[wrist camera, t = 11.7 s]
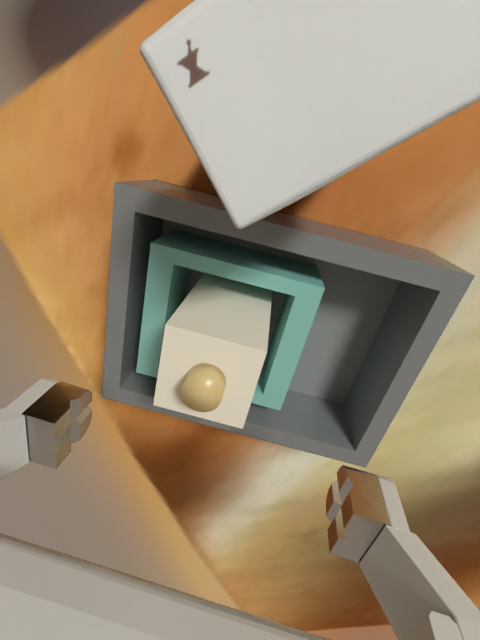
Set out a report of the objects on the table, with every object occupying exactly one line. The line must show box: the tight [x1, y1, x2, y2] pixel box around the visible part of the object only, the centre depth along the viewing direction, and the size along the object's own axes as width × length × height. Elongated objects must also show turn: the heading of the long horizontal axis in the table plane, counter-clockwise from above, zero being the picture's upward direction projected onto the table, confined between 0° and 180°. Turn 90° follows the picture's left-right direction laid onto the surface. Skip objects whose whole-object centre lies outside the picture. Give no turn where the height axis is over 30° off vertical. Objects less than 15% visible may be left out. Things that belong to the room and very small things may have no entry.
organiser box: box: [102, 180, 474, 468], centre depth 19 cm, size 16×12×5 cm
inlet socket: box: [136, 229, 325, 410], centre depth 19 cm, size 8×8×4 cm
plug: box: [153, 273, 272, 429], centre depth 16 cm, size 4×4×9 cm
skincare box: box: [140, 0, 480, 229], centre depth 12 cm, size 6×4×12 cm
